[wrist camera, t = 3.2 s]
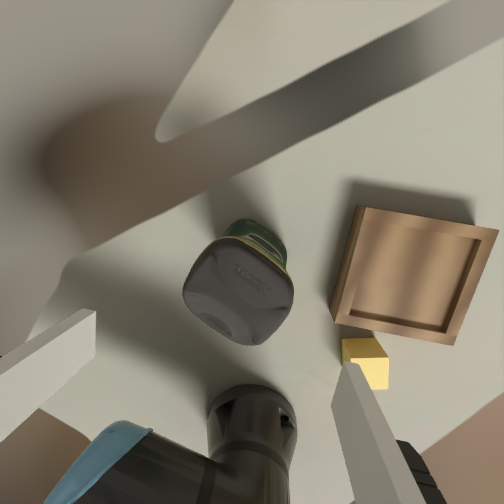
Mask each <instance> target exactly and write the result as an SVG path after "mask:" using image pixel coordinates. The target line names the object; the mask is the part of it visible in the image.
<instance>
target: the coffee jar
mask: <svg viewBox="0 0 504 504" xmlns="http://www.w3.org/2000/svg"><path fill="white" fill-rule="evenodd" d="M286 262H287V251H286V248H285V246H284V244H283V243H282V242H281V241H280V240H279V239H278V238H277V237H276V236H275V235H274V234H272V233H271V232H270V231H268V230H267V229H266V228H264V227H263V226H261V225H260V224H258V223H256V222H255V221H252V220H250V219H241V220H238V221H236V222H235V223H233V224H232V225H231V226H230V227H229V228H228V229H227V231H226V232H225V233H224V234H223V236H222V237H221V238H218V239H216V240H214V241H213V242H211V243H210V244H209V245H208V246H207V247H206V248H205V249H204V250H203V252H202V253H201V254H200V255H199V257H198V258H197V259H196V261H195V262H194V264H193V266H192V268H191V270H190V272H189V274H188V276H187V278H186V280H185V283H184V286H183V292H182V294H183V299H184V302H185V304H186V305H187V307H188V308H189V309H190V310H191V312H192V313H194V314H195V315H196V316H197V317H199V318H200V319H201V320H202V321H204V322H205V323H206V324H208V325H209V326H210V327H212V328H213V329H215V330H216V331H218V332H219V333H221V334H222V335H224V336H226V337H227V338H229V339H230V340H232V341H234V342H236V343H239V344H242V345H250V346H253V345H260V344H262V343H263V342H264V341H266V340H267V339H268V338H269V337H270V336H271V335H272V334H273V333H274V332H275V331H276V330H277V329H278V328H279V327H280V325H281V324H282V323H283V321H284V320H285V319H286V317H287V316H288V314H289V312H290V310H291V307H292V304H293V296H294V286H293V282H292V280H291V278H290V276H289V274H288V273H287V271H286Z"/></svg>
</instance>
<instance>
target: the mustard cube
mask: <svg viewBox="0 0 504 504" xmlns="http://www.w3.org/2000/svg"><path fill="white" fill-rule="evenodd" d="M344 361H347V362H351V363H356V364H359V365H360V367H361V369H362V371H363V373H364V375H365V378H366V380H367V382H368V384H369V386H370V388H371V389H388V372H389V357H388V356H387V354H386V353H385V351H384V350H383V348H382V347H381V345H380V344H379V342H378V341H377V339H376V338H349V339H342V365H343V362H344Z"/></svg>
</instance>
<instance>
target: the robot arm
mask: <svg viewBox="0 0 504 504" xmlns="http://www.w3.org/2000/svg"><path fill="white" fill-rule="evenodd" d="M95 338H96V311H93V310H88V309H83V308H82V309H80V310H79V311H77V312H75V313H74V314H72V315H71V316H69V317H67V318H66V319H64V320H62V321H61V322H59V323H57V324H56V325H54V326H52V327H51V328H49V329H47V330H46V331H44V332H43V333H41V334H39V335H38V336H36V337H34V338H33V339H31V340H29V341H28V342H26V343H24V344H23V345H21V346H19V347H18V348H16V349H14V350H13V351H11V352H10V353H8V354H6V355H5V356H0V442H1V441H2V440H4V438H6V437H7V436H8V435H9V434H10V433H11V432H12V431H13V430H14V429H16V427H18V426H19V425H20V424H21V423H22V422H23V421H24V420H25V419H27V418H28V417H29V416H30V415H31V414H32V413H33V412H34V411H35V410H36V409H37V408H39V407H40V406H41V405H42V404H43V403H44V402H45V401H46V400H47V399H48V398H50V397H51V396H52V395H53V394H54V393H55V392H56V391H57V390H58V389H59V388H60V387H62V386H63V385H64V384H65V383H66V382H67V381H68V380H69V379H70V378H71V377H73V376H74V375H75V374H76V373H77V372H78V371H79V370H80V369H81V368H82V367H83V366H85V365H86V364H87V363H88V362H89V361H90V360H91V359H92V358H93V357H94V356H95ZM331 408H332V412H333V416H334V420H335V423H336V427H337V431H338V435H339V439H340V443H341V447H342V451H343V455H344V458H345V462H346V466H347V470H348V474H349V478H350V482H351V486H352V489H353V493H354V497H355V501H356V504H447V503H446V501H445V499H444V497H443V495H442V494H441V492H440V490H438V488H437V485H436V483H435V481H434V479H433V477H432V476H430V472H429V470H428V468H427V466H426V464H425V463H424V461H423V459H422V457H421V456H420V455H419V454H418V452H417V451H416V450H415V449H414V448H413V447H412V446H411V445H410V443H409V442H405V441H400V440H395V438H394V436H393V434H392V431H391V429H390V427H389V425H388V423H387V421H386V419H385V417H384V415H383V413H382V411H381V409H380V407H379V404H378V402H377V400H376V398H375V396H374V394H373V392H372V390H371V388H370V386H369V384H368V382H367V380H366V378H365V375H364V373H363V371H362V369H361V367H360V365H359V364H356V363H351V362H347V361H344V362H343V365H342V369H341V372H340V376H339V379H338V383H337V386H336V389H335V393H334V396H333V400H332V403H331ZM152 431H153V429H151V428H148V429H147V428H144V427H141V426H139V425H136V424H134V423H131V422H129V421H125V420H122V421H117V422H114V423H113V424H111V425H109V426H108V427H107V428H105V429H104V430H103V431H102V432H101V433H100V434H99V435H98V436H97V437H96V438H95V439H94V440H93V441H92V442H91V444H90V445H89V446H88V447H87V448H86V449H85V450H84V451H83V453H82V454H81V455H80V456H79V457H78V458H77V460H76V461H75V462H74V463H73V465H72V466H71V467H70V468H69V469H68V471H67V472H66V473H65V475H64V476H63V477H62V478H61V480H60V481H59V483H58V484H57V485H56V486H55V488H54V489H53V490H52V492H51V493H50V495H49V496H48V497H47V499H46V500H45V502H44V503H43V504H290V492H289V468H290V465H291V461H292V457H293V453H294V450H295V446H296V442H297V423H296V416H295V413H294V411H293V409H292V407H291V405H290V404H289V403H288V401H287V400H286V399H285V398H284V397H282V396H281V395H280V394H278V393H277V392H275V391H273V390H271V389H269V388H266V387H263V386H258V385H241V386H236V387H233V388H231V389H228V390H227V391H225V392H223V393H222V394H221V395H220V396H219V397H218V398H217V399H216V400H215V402H214V403H213V405H212V408H211V411H210V415H209V418H208V423H207V438H208V454H209V458H207V457H205V456H203V455H201V454H199V453H197V452H195V451H193V450H191V449H188V448H186V447H184V446H182V445H180V444H178V443H176V442H174V441H171V440H169V439H167V438H165V437H163V436H161V435H159V434H157V433H155V432H152Z"/></svg>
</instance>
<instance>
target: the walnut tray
mask: <svg viewBox="0 0 504 504" xmlns="http://www.w3.org/2000/svg"><path fill="white" fill-rule="evenodd" d="M498 232H499V230H496V229H491V228H485V227H479V226H473V225H467V224H462V223H456V222H450V221H444V220H438V219H433V218H427V217H421V216H415V215H409V214H404V213H398V212H392V211H386V210H380V209H375V208H369V207H363V206H357V207H356V211H355V215H354V218H353V222H352V226H351V230H350V234H349V238H348V241H347V245H346V249H345V253H344V257H343V261H342V264H341V268H340V272H339V276H338V280H337V284H336V287H335V291H334V295H333V299H332V303H331V307H330V310H329V311H330V313H331V315H332V317H333V320H334V322H335V323H338V324H343V325H348V326H353V327H358V328H363V329H369V330H374V331H379V332H384V333H389V334H394V335H400V336H405V337H410V338H415V339H420V340H425V341H431V342H436V343H441V344H446V345H451V346H453V345H454V343H455V340H456V338H457V335H458V333H459V330H460V328H461V325H462V323H463V320H464V318H465V315H466V313H467V310H468V308H469V305H470V303H471V300H472V298H473V295H474V293H475V290H476V288H477V285H478V283H479V280H480V278H481V275H482V273H483V270H484V268H485V265H486V263H487V260H488V258H489V255H490V253H491V250H492V248H493V245H494V242H495V240H496V237H497V235H498Z"/></svg>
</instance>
